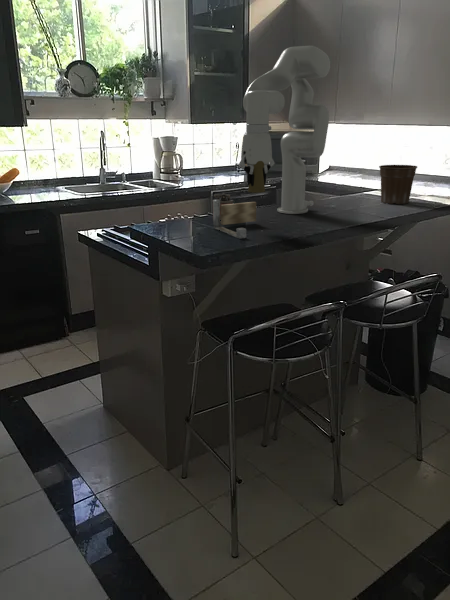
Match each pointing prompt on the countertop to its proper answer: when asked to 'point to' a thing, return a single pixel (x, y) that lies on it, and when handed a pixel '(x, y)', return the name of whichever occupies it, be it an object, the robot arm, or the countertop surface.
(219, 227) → the grey l-shaped bracket
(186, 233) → the countertop surface
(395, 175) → the plant pot
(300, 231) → the countertop surface
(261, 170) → the cork
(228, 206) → the door
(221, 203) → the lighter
